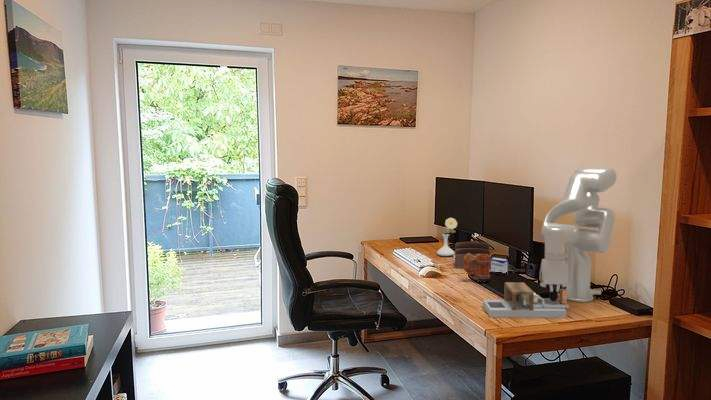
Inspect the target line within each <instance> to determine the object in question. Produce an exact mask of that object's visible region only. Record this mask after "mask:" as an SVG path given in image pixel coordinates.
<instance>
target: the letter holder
mask: <svg viewBox="0 0 711 400" xmlns="http://www.w3.org/2000/svg"><path fill="white" fill-rule="evenodd" d="M490 248H491V247H490V243H488V242H487V243H486V242H482V241H481V242H480V241H460V242H456V243H455V245H454V253H455V254H454V267H455V269H464V268H463V258H464V256H465V255H466V254H467V253H470V254H471V255H473V256H476V254H488V255H489V260H490V261H491V259H492V257H491V251H490V250H491V249H490ZM468 264H469V267H470V268H471V269H472V268H475V263H474V260H472V261H471V262H469V263H468ZM489 270H491V263H490V264H489Z"/></svg>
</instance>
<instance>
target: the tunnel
mask: <svg viewBox="0 0 711 400" xmlns="http://www.w3.org/2000/svg"><path fill="white" fill-rule="evenodd" d="M503 290H504V294H503V295H504V296H503V300H505V301H512V310H516V301H518V295H530V299H529V310H533V301H534V293H535V292H534V291H533V289H531V288H530V287H529V286H528V285H527V284H526V283H525V282H522V281H521V282H517V281H516V282H510V281H507V282H505V281H504V289H503Z"/></svg>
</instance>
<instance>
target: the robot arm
mask: <svg viewBox="0 0 711 400" xmlns="http://www.w3.org/2000/svg"><path fill="white" fill-rule="evenodd" d="M616 181H617V172H616V170H615V169H614V168H612V167H595V166H593V167H590V166H589V167H579V168H577V169H575V170H574V172H573V174H571V176H570V177H569V179H568V183H567V185H566V188H565V190H564V191H565V192H564V195H563V197H562V200H561V201H560V202H559V203H557V204H555V206H553V207H552V208H551V209H549V211H548V212H547V213H546V214H545V218H544V219H543V222H542V225H541V229H540V231H541V232H540V233H541V236H542V238H543V239H544V258H542V259H541V263H540V269H539V281H540V283H539V286H540V287H542V288H546V289H547V290H548V299H550V300H551V301H557V299H559V293H560V289H563V288H565V287H566V290H567V300H568V301H573V302H579V303H585V302H586V303H588V302H593V300H594V295H595V296H596V295H599V296H601V295H602V290H600V289H599V290H597V289H595V288H594V289H592V288H591V271H592V270H591V268H592V261H591V257H590V255H589V254H588V253H587V252H591V253H598V254H604V253H607V252H608V250H609V248H610V245H611V241H612V236H613V231H614V227H615V226H614V225H615V220H616V219H615V213H614V211H613V210H612V209H610V208H607V207H601V206H599V204H600V201H601V200H600V196H599V194H598V193H604V192H606V191H607V190H609V189H610V188H612V187H613V186H614V185H615V184H616ZM572 213H574V217H573V218H574V220H573V221H574V224H575V225H576V226H578V227H582V228H578V227H576V226H575V225H572V224H567V223H566V224H565V223H559V222H556V221H558V219H560V218H561V217H563V216H565V215H569V214H572ZM585 228H586V229H585ZM593 229H598V230H593ZM566 250H567V251H566ZM565 252H567V253H565ZM566 258H567V259H566ZM553 285H554V286H553Z"/></svg>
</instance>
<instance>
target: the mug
mask: <svg viewBox="0 0 711 400" xmlns="http://www.w3.org/2000/svg"><path fill="white" fill-rule="evenodd" d="M472 260H474V263H475V268H472V269H471V268H470V267H469V264H468V263H469V262H471V261H472ZM490 263H491V261H490V260H489V255H488V254H476V256H473V255H471V254H470V253H467V254H466V255H465V256H464V258H463V268H462V269H463V270H464V272H466V274H468V275H469V276H471V275H472V276H473V280H474V279H489V280H490V279H491V277H492V274H491V273H490V269H489V264H490Z"/></svg>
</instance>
